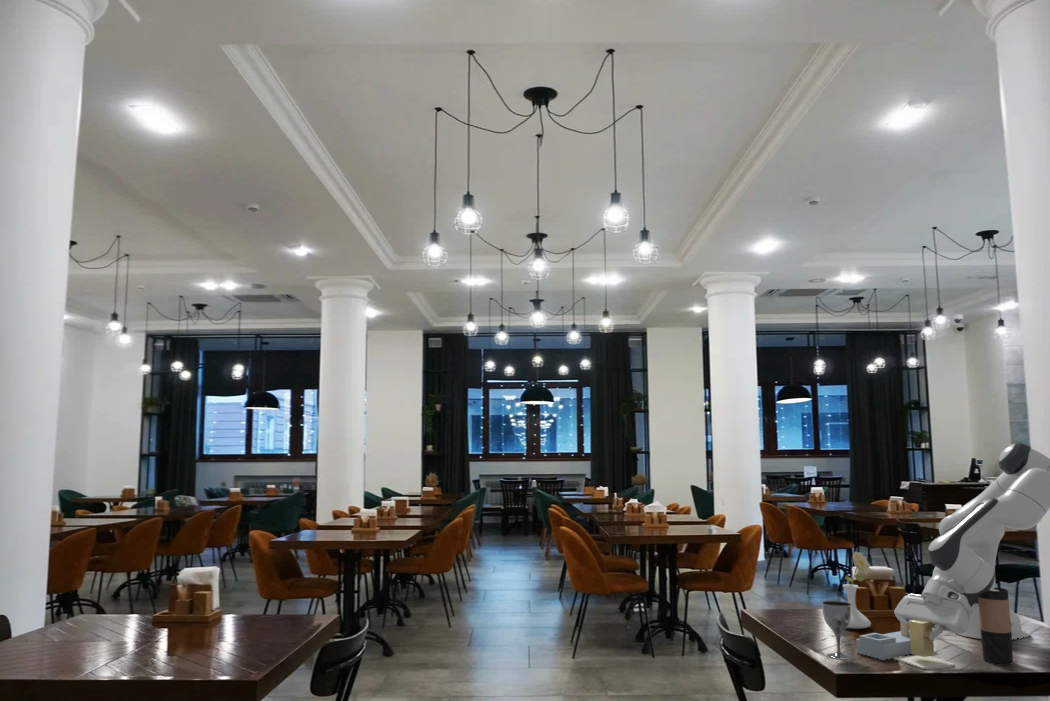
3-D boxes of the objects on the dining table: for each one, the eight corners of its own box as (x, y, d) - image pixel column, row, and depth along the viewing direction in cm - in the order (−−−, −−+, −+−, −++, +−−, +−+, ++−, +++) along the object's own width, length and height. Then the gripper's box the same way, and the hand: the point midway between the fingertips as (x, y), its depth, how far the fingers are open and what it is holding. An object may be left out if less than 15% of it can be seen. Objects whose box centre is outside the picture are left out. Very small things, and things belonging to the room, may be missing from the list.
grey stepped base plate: (903, 644, 240) (902, 613, 242) (931, 650, 233) (929, 619, 234) (856, 653, 230) (855, 621, 231) (883, 660, 222) (881, 627, 223)
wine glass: (820, 652, 230) (817, 600, 232) (847, 652, 230) (844, 600, 232) (830, 659, 222) (827, 605, 224) (858, 660, 222) (855, 605, 224)
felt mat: (924, 656, 226) (924, 654, 226) (955, 666, 215) (955, 664, 215) (893, 659, 223) (893, 657, 223) (923, 669, 212) (922, 667, 212)
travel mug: (1001, 666, 215) (996, 592, 218) (976, 660, 222) (970, 587, 225) (1020, 663, 218) (1014, 590, 221) (994, 657, 225) (989, 585, 228)
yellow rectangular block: (921, 652, 222) (918, 619, 223) (934, 655, 219) (932, 621, 220) (911, 653, 220) (909, 620, 221) (924, 657, 216) (922, 623, 218)
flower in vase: (848, 632, 256) (844, 554, 259) (827, 624, 267) (823, 550, 270) (883, 630, 259) (878, 553, 263) (860, 622, 270) (856, 549, 274)
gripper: (901, 585, 234) (882, 623, 228) (968, 596, 216) (949, 637, 210) (911, 599, 235) (892, 637, 229) (978, 611, 218) (960, 652, 212)
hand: (920, 637), depth 219 cm, fingers closed on yellow rectangular block, 4 cm apart
